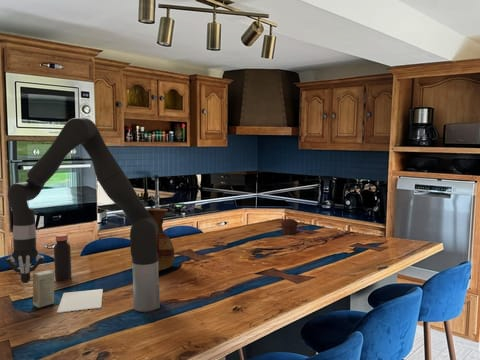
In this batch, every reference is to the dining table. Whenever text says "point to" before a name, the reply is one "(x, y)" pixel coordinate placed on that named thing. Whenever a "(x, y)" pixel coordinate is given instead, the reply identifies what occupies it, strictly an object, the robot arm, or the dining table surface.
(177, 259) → the dining table surface
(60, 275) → the vinegar
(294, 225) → the muffin
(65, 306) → the mat
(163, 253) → the brown vase
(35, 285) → the skincare box
